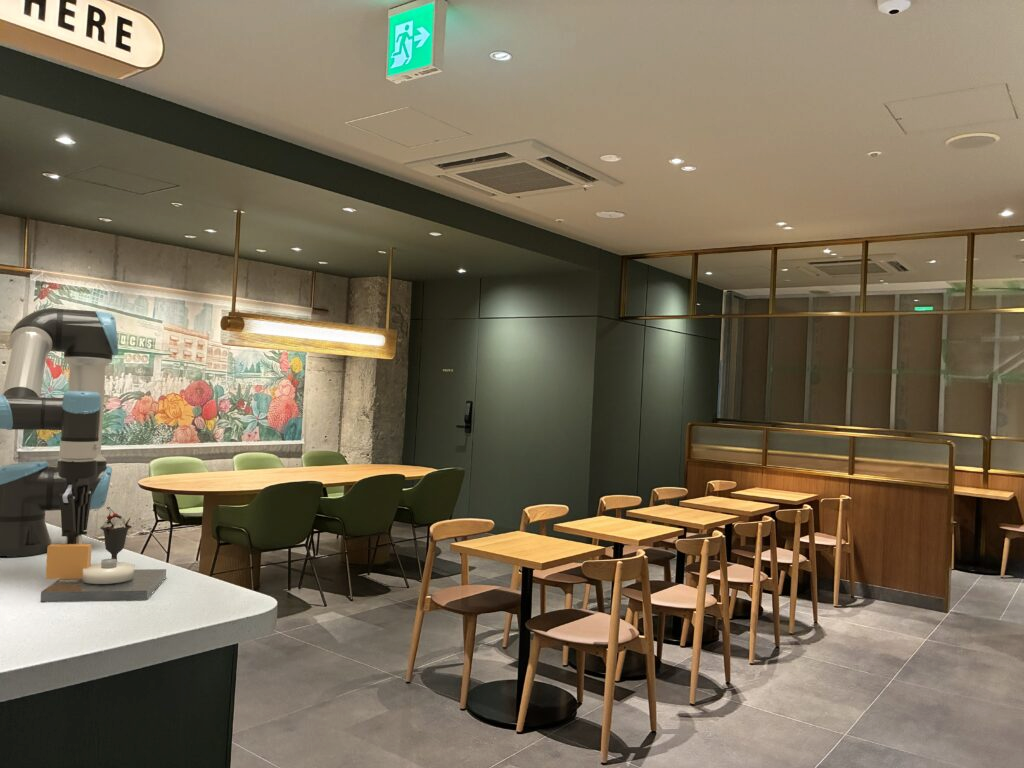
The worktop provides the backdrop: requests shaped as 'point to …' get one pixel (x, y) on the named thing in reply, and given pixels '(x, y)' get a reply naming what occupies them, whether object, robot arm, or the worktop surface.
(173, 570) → the worktop surface
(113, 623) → the worktop surface
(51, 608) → the worktop surface
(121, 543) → the sundae
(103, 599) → the panel
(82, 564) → the dial
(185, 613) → the worktop surface
